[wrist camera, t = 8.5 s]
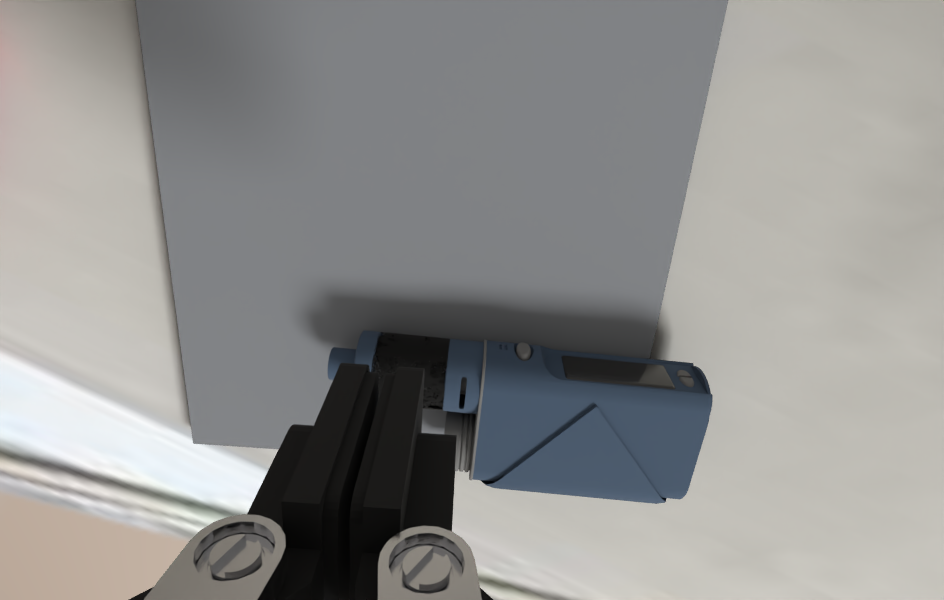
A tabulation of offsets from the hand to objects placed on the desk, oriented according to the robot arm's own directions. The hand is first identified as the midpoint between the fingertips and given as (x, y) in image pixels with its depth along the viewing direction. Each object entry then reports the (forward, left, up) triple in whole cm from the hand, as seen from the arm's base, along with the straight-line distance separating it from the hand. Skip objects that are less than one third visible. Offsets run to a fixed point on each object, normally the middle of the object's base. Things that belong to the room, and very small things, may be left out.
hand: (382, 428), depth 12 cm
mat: (0, -1, -9) cm, 9 cm away
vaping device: (-10, +4, -7) cm, 12 cm away
